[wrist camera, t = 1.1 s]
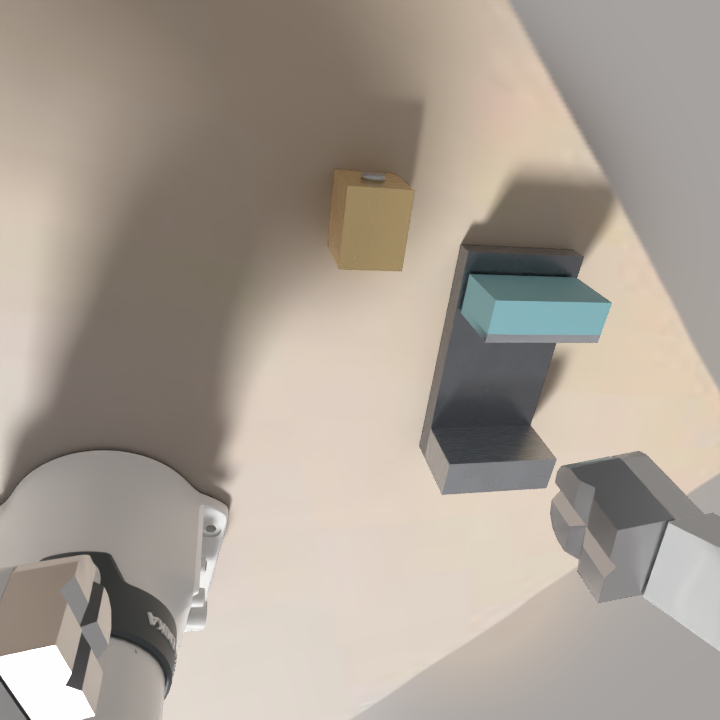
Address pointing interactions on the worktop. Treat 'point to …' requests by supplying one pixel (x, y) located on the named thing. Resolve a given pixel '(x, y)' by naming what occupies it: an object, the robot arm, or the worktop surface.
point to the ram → (534, 309)
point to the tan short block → (369, 220)
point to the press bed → (490, 386)
